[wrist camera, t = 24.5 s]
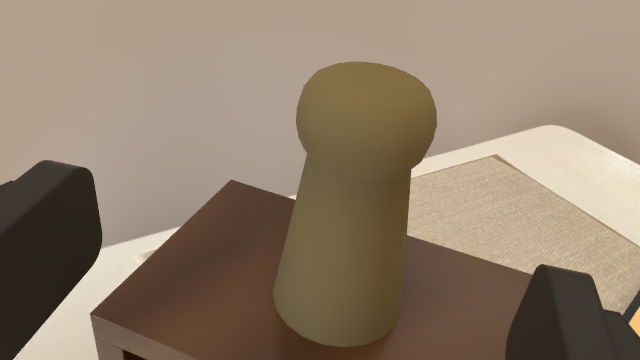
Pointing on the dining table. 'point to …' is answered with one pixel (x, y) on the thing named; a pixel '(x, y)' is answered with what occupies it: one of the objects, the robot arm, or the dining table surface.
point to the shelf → (259, 307)
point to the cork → (352, 202)
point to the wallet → (634, 314)
